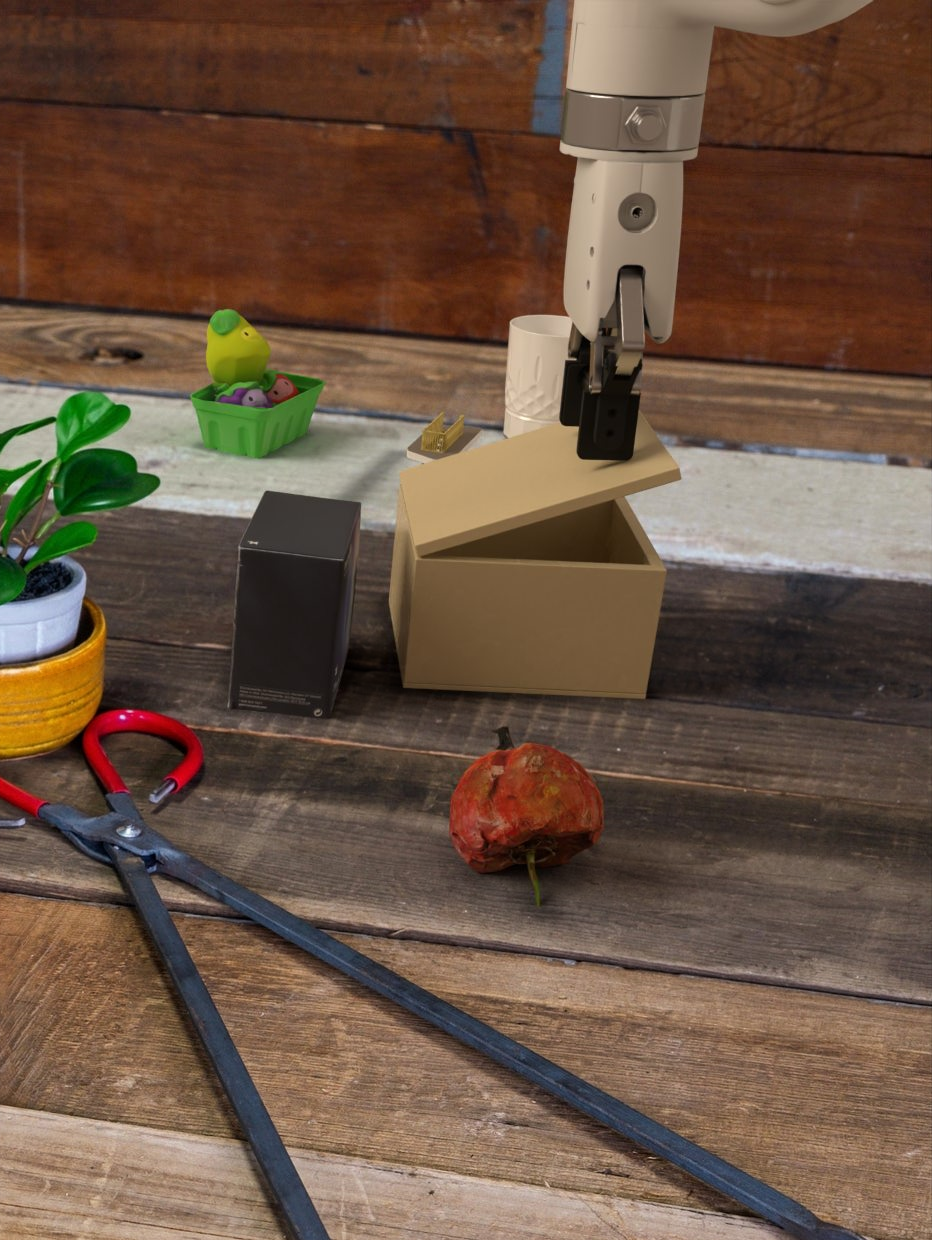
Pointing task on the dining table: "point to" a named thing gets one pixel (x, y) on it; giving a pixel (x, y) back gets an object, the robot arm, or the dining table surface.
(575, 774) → the red round fruit
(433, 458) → the platform
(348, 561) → the small box
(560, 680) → the tan open box
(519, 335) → the white cup
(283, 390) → the fruit basket
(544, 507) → the lid
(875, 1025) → the dining table surface
